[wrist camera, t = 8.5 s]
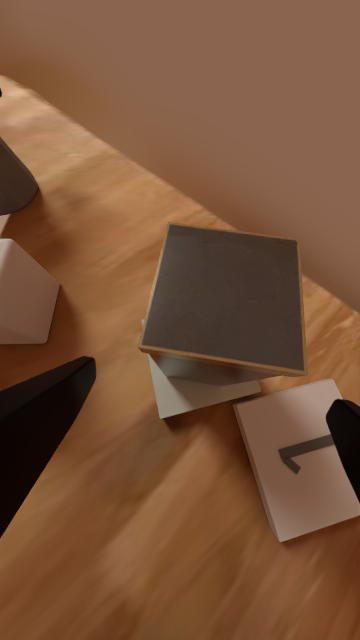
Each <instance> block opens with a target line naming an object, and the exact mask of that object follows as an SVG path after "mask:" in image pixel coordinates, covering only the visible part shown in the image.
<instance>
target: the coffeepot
mask: <svg viewBox="0 0 360 640" xmlns="http://www.w3.org/2000/svg"><path fill="white" fill-rule="evenodd" d="M1 96H2V92H1V89H0V97H1ZM37 189H38V185H37V183H36V181H35V179H34V177H33V176H32V174H31V172H30V171H29V170H28V168H27V167H26V166H25V165H24V164H23V163H22V162H21V160H20V159H19V158H18V157H17V156H16V155H15V154H14V152H13V151H12V150H11V149H10V148H9V147H8V145H7V144H6V143H5V142H4V141H3V140H2V139H1V137H0V216H1V215H7V214H10V213H14V212H16V211H18V210H20V209H22V208H23V207H25V206H26V205H28V204H29V203H30V202H31V201H32V200H33V198H34V197H35V195H36V193H37Z"/></svg>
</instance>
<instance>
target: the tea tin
mask: <svg viewBox="0 0 360 640" xmlns="http://www.w3.org/2000/svg"><path fill="white" fill-rule="evenodd" d="M138 348H139V349H140V350H141V352H143V353H148V354H149V355H150V356H151V358H152V359H153V360H154V362H155V363H156V364H157V366H158V367H159V368H160V370H161V371H162V372H163V374H164V375H165V376H166V377H170V378H176V379H182V380H188V381H194V382H200V383H206V384H212V385H218V386H227V385H232V384H238V383H243V382H248V381H254V380H259V379H265V378H270V377H275V376H281V375H283V376H289V377H298V376H305V375H308V370H307V354H306V338H305V322H304V306H303V290H302V274H301V259H300V244H299V239H296V238H288V237H281V236H273V235H265V234H257V233H249V232H241V231H234V230H226V229H218V228H210V227H202V226H194V225H187V224H179V223H171V222H168V224H167V229H166V233H165V237H164V241H163V245H162V249H161V253H160V258H159V262H158V266H157V270H156V274H155V278H154V282H153V287H152V291H151V295H150V299H149V303H148V307H147V311H146V315H145V320H144V324H143V328H142V332H141V336H140V340H139V344H138Z"/></svg>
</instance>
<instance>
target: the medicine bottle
mask: <svg viewBox="0 0 360 640" xmlns="http://www.w3.org/2000/svg"><path fill="white" fill-rule="evenodd" d="M59 286H60V284H59V282H58V281H57V280H56V279H55V278H53V277H52V276H51V275H50V274H49V273H48V272H47V271H46V270H45V269H44V268H43V267H42V266H41V265H39V264H38V263H37V262H36V261H35V260H34V259H33V258H32V257H31V256H30V255H29V254H28V253H27V252H25V251H24V250H23V249H22V248H21V247H20V246H19V245H18V244H17V243H16V242H15V241H14V240H12V239H0V344H44V343H46V342H47V339H48V335H49V330H50V326H51V322H52V317H53V313H54V308H55V304H56V300H57V295H58V291H59Z"/></svg>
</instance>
